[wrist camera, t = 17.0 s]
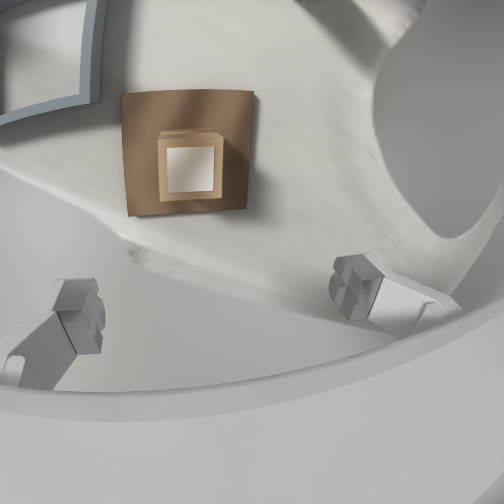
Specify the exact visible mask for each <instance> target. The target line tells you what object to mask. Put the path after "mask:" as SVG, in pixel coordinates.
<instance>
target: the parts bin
mask: <svg viewBox="0 0 504 504" xmlns="http://www.w3.org/2000/svg"><path fill="white" fill-rule="evenodd" d="M24 1H27V0H0V12H2V11H4V10H6V9H8V8H10V7H13V6H15V5H17V4H20V3H22V2H24ZM107 2H108V0H87V6H86V13H85V20H84V28H83V37H82V48H81V63H80V94H79V95H74V96H69V97H64V98H60V99H55V100H51V101H47V102H43V103H39V104H35V105H32V106H28V107H25V108H21V109H18V110H15V111H12V112H9V113H6V114H3V115H0V126H1V125H4V124H7V123H10V122H13V121H16V120H20V119H23V118H27V117H31V116H34V115H38V114H42V113H46V112H50V111H55V110H59V109H64V108H69V107H74V106H79V105H85V104H91V103H97V102H100V83H101V59H102V45H103V34H104V25H105V16H106V9H107Z"/></svg>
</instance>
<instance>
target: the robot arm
mask: <svg viewBox="0 0 504 504" xmlns="http://www.w3.org/2000/svg"><path fill="white" fill-rule="evenodd" d="M333 268H334V270H335V273H334V274H333V275H332V276H331V277H330V281H329V293H330V295H331V298H332V299H333V301H334V302H335V303H337V304H339V305H341V307H340V311H341V312H342V313H343V315H344V316H345V318H346V319H347V320H348V322H351V321H356V320H361V319H366V318H368V320H370V321H371V322H373V323H374V324H376V325H377V326H379V327H380V328H382V329H383V330H385V331H387V332H388V333H390V334H391V335H393V336H394V337H396V338H397V339H399V340H400V341H397V342H394V343H391V344H388V345H385V346H382V347H379V348H376V349H373V350H370V351H366V352H363V353H360V354H356V355H353V356H350V357H346V358H342V359H339V360H335V361H331V362H327V363H324V364H320V365H316V366H312V367H307V368H303V369H299V370H294V371H290V372H285V373H280V374H275V375H270V376H265V377H260V378H254V379H248V380H242V381H236V382H230V383H222V384H216V385H207V386H200V387H190V388H179V389H168V390H154V391H133V392H73V391H55V390H53V388H54V387H55V386H56V384H57V383H58V381H59V380H60V379H61V377H62V376H63V374H64V373H65V372H66V370H67V369H68V368H69V366H70V365H71V364H72V362H73V361H74V360H75V358H76V357H77V355H83V354H100V353H101V347H102V340H103V337H102V335H101V331H102V330H103V329H104V327H105V309H104V305H103V301H102V299H101V298H99V297H98V296H97V294H98V290H99V288H98V285H97V281H96V280H95V278H76V279H57V280H53V281H52V282H51V284H50V286H49V288H48V290H47V292H46V295H45V297H44V299H43V301H42V304H41V306H40V308H39V311H38V312H34V313H32V314H31V315H30V316H29V317H28V318H26V319H25V320H24V321H23V322H22V323H20V324H19V325H18V326H17V327H16V328H14V329H13V330H12V331H11V332H10V333H9V334H8V335H6V336H5V337H4V338H3V339H2V340H1V341H0V504H504V295H503V296H501V297H499V298H497V299H495V300H493V301H491V302H489V303H487V304H485V305H483V306H481V307H479V308H477V309H475V310H473V311H471V312H469V313H466V312H465V311H464V310H463V309H462V308H461V307H460V306H459V305H457V303H456V302H455V301H454V300H453V299H452V298H451V297H450V296H448V295H446V294H443V293H441V292H439V291H436V290H434V289H432V288H430V287H427V286H425V285H423V284H420V283H418V282H416V281H413V280H411V279H409V278H406V277H404V276H402V275H396V274H395V273H394V272H393V271H392V270H391V269H390V268H389V267H388V266H387V265H386V264H385V263H384V262H383V261H381V260H380V259H379V258H378V257H377V256H376V255H375V254H373V253H364V254H359V255H351V256H342V257H337V258H336V260H335V261H334V265H333Z"/></svg>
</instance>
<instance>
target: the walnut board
mask: <svg viewBox="0 0 504 504" xmlns="http://www.w3.org/2000/svg"><path fill="white" fill-rule="evenodd" d="M253 96H254V91H243V90H214V89H194V90H164V91H149V92H138V93H128V94H122V103H121V108H122V147H123V164H124V178H125V189H126V199H127V209H128V217H130V216H142V215H154V214H168V213H182V212H198V211H215V210H235V209H246V204H247V187H248V171H249V156H250V140H251V125H252V110H253ZM190 128H213V129H214V130H215V131H216V132H217V133H219V134H220V135H221V136H222V137H224V140H223V166H222V198H212V199H193V200H177V201H162V202H160V192H159V171H158V138H159V135H160V132H161V130H168V129H190Z"/></svg>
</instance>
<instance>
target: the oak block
mask: <svg viewBox="0 0 504 504" xmlns="http://www.w3.org/2000/svg"><path fill="white" fill-rule="evenodd" d="M223 140H224V137H222V136H221V135H220V134H219V133H217V132H216V131H215V130H214V129H213V128H190V129H168V130H161V132H160V135H159V138H158V171H159V192H160V202H162V201H177V200H193V199H212V198H222V166H223Z"/></svg>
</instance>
